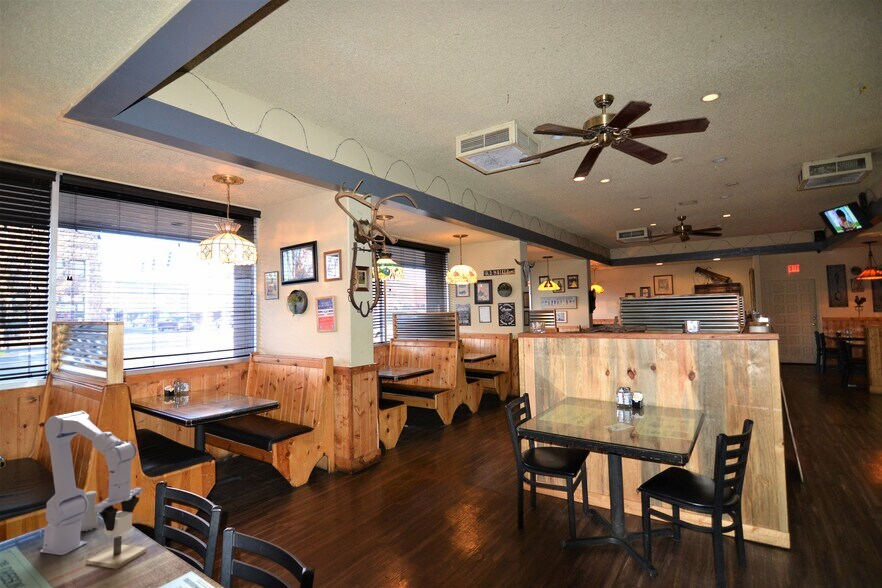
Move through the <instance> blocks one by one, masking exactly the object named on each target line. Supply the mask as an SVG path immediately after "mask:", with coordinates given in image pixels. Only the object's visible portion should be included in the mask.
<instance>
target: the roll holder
mask: <svg viewBox="0 0 882 588" xmlns="http://www.w3.org/2000/svg"><path fill="white" fill-rule="evenodd" d="M122 538H123V537H122V536H121V535H118V536H115V537H114V538H113V545H111V546H110V547H107V548H106V549H104V550H102V551H101V552H99V553H97V554H95V555H93V556H91V557H89V558H87V559H86V560H85V564H86V565H89V564H91V566H96V567H97V566H98V567H104V568H109V569H110V568H111V569H116V570H117V569H120V568H121V567H123V566H125V565H127V564H128V563H130V562H131V561H133V560H134V559H136V558H138V557H140V556H141V555H143V554H145V553H147V549H148V548H147V547H144V546H138V545H137V546H136V545H130V544H123V543H122Z"/></svg>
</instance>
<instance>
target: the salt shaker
mask: <svg viewBox="0 0 882 588" xmlns="http://www.w3.org/2000/svg"><path fill="white" fill-rule="evenodd" d="M85 496H86V498H87V499H88V502H89V505H88V509H87V511H86V512H85V513H84V516H83V517H81V532H82V531H86V532H89V531H88V530H90V531H92V530H94V529H95V528H96V527H97V525H98V523H99V515H98V512H94V508H95V505H97V503H96V498H97V497H98V492H97V491H96V490H90V491H86V492H85ZM93 528H94V529H93Z"/></svg>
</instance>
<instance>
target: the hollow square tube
mask: <svg viewBox="0 0 882 588" xmlns="http://www.w3.org/2000/svg"><path fill="white" fill-rule="evenodd" d="M132 528H133V513H132V512H124V511H122V510H118V511H117V513H116V517H115V525H114V530H112V531H108V530H106V527H105V526H104V530H103V531H104V532H103V534H104V535H109V536H115V537H117V536H121V535H122V534H123V533H125V532H128V531H129V530H131V529H132Z"/></svg>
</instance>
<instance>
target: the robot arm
mask: <svg viewBox="0 0 882 588" xmlns="http://www.w3.org/2000/svg"><path fill="white" fill-rule="evenodd" d="M44 432H45V439H46V440H45V441H46V442H47V443H48V446H49V452H50V462H51V469H52V470H51V471H52V476H53V477H52V478H53V484H54V491H55V493H54V495H53V496H52V497H50V499H49V500H48V501H46V511H45V520H46V522H47V524H46V526H45V529H44V531H43V547H42V549H41V550H40V551H39V552H40V553H45V554H50V555H59V556H64V555H66V554H68V553H70V552H73V551H74V550H76V549H78V548H80V547H83V546H84V545H86V544H87V543H88V541H87V540H85V541H84V540H81V532H82V531H81V517H83V516H84V513H85V512H86V511H87V509H88V505H89V502H88V499H87V498H86V496H85V493H86V492H85V490H83V489H81V488H78V487H77V484H76V478H75V477H76V475H75V469H74V464H73V463H74V462H73V456H72V455H73V453H72V447H71V441H72V439H73V438H74V437H75V436H77V435H78V434H80V435H82V436H83V437H85V438H87V439H88V440H89V441H91V442H92V444H91V445H92V447H93V448H94V449H95V450H97V451H98V453H99V452H100V454H102V455H103V456H104V459H105V460H104V461H105V463H106V465H107V470H108V471H109V472H108V473H109V475H108V493H107V494H108V495H107V496H108V497H107V498H106V499H104V500H103V501H101V502H99V503H96V505H95V508H94V512H97V514H99V516H101V518H102V520H103V522H104V528H105V527H106V530H108V531H112V530H114V525H115V517H116V513H117V512H119V508H115V507H114V506H116V505H118V504H120V505H121V511H124V512H132V514H133V513H134V510H135V507H136V506H137V504H138V503H139V502H140V497H138V496H140V495H142V492H143V488H142V487H135V488H132V489H131V486H132V484H131V483H132V466H133V465H132V463H133V461H132V460H133V459H134V458H136V455H137V453H138V452H137V450H138V449H137V447H136V445H135V443H133V442H132V441H123V440H122V439H120V438H118V437H117V436H115V435H114V434H113V432H111V431H104V432H103V431H102V430H101V429H99V427H98V426H96V425H95V424H94V423H93V422H92V421H91V416H90V414H88V413H86V411H84V410H78V411H74V412H70V413H65V414H59V415H52V416H50V417H49V418H48V419H47V421H46V422H45V424H44Z"/></svg>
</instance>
